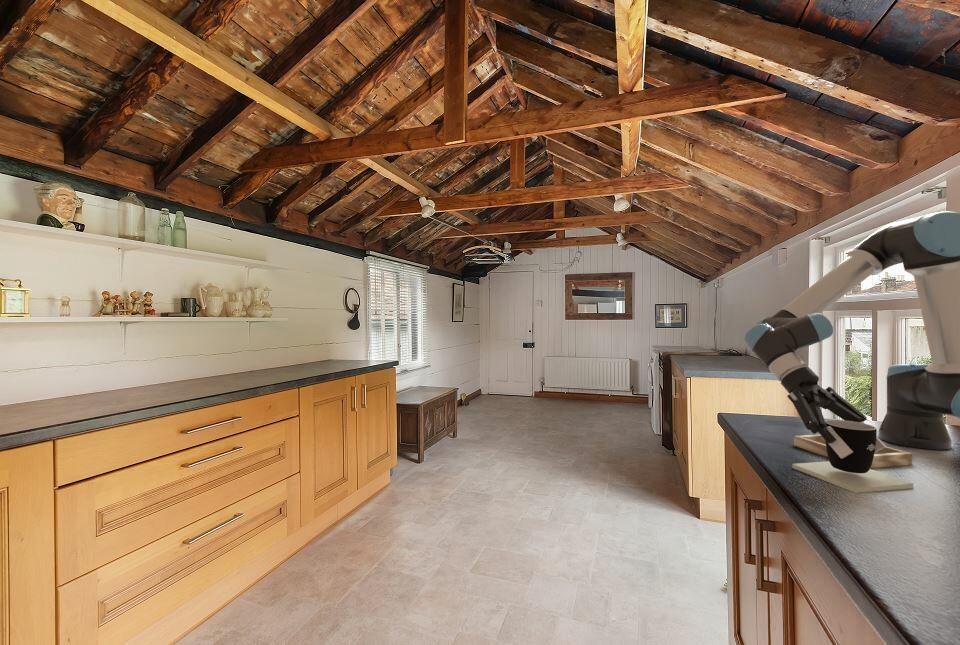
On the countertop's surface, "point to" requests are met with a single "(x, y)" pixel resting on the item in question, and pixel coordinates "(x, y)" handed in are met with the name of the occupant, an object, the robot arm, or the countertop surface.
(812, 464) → the tile
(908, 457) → the rectangular wooden frame
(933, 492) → the countertop surface
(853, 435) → the mug
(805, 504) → the countertop surface
